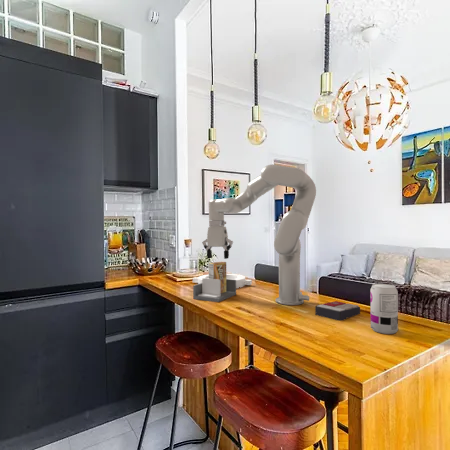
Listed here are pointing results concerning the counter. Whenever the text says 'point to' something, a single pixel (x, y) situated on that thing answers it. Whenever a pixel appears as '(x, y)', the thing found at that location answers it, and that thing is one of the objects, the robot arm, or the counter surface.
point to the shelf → (213, 290)
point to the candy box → (218, 273)
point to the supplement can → (384, 308)
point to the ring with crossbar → (239, 278)
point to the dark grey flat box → (337, 310)
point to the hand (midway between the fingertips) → (217, 258)
